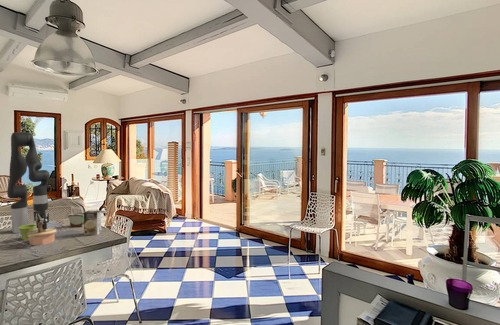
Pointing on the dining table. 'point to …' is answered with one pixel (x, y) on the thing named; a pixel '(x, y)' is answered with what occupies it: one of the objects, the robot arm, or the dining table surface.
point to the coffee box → (92, 222)
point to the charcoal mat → (67, 234)
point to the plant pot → (26, 230)
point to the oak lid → (41, 231)
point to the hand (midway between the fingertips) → (41, 228)
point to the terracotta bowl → (42, 239)
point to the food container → (76, 219)
